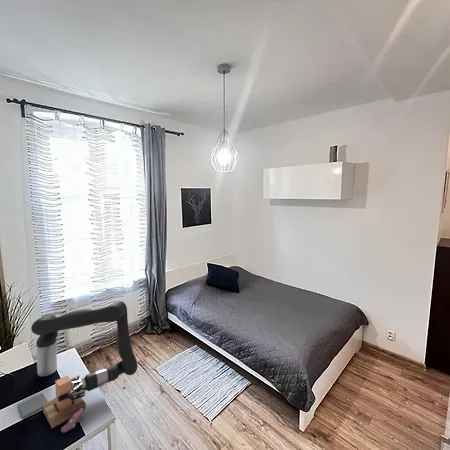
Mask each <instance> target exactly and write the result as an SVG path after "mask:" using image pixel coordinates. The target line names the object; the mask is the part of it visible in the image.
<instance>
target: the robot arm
mask: <svg viewBox="0 0 450 450" xmlns="http://www.w3.org/2000/svg"><path fill="white" fill-rule="evenodd" d="M114 322H116V327H117V331H116V346H117V350H118V354H119V355H118V356H119V357H120V358H121V360H120V361H118V362H117V363H115V364H113V365H111V366H108V367H105V368H101V369H97V370H96V371H93V372H90V373H88V374H86V375H84V377H83V378H80V375H76V376H75V377H72V378H70V380H71V390H72V391H70V392H69V393H66V394H63V395H61V396H59V397H58V401H62V400H65V399H67V398H68V399H70V400H75V399H78V398H85V396H86V391H87V392H90V391H93V390H96V389H97V388H99V387H102V386H104V385H106V384H108V383H111V382H113V381H115V380H117V379H118V378H119V376H122V374H125V375H127V376H133V375H134V374H136V372H137V370H138V361H137V358H136V355H135V353H134V350H133V345H132V342H131V337H130V331H129V321H128V307H127V304H126V303H125V302H124V301H121V300H118V301H117V300H116V301H115V302H113V303H111V304H110V305H108V306H105V307H102V308H97V309H91V308H83V309H76V310H73V311H69V312H66V313H65V314H61V315H60V316H56V315H55V314H54V313H46V314H44V315H43V316H41V317H39V318H38V319H36V320H34V322H33V323H32V325H31V328H30V329H31V331H32V333H33V334H34V335H36V336H38V338H37V339H36V343H35V345H36V368H37V371H36V372H37V376H38V377H48V376H51V375H52V374H54V373H55V372H56V371H57V370H58V358H57V356H58V355H57V338H58V335H59V332H58V331H64V330H71V329H76V328H82V327H86V326H91V325H96V324H102V323H114ZM76 395H77V396H76ZM73 396H76V397H73Z"/></svg>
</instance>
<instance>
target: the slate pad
mask: <svg viewBox="0 0 450 450" xmlns="http://www.w3.org/2000/svg"><path fill="white" fill-rule="evenodd" d="M48 401H49V400H47V398H46V396H45V394H44V393H43V392H41V393H39V394H37V395H35V396H33V397H30V398H29V399H26V400H24V401H22V402H20V403H18V404H17V408H18V410H19V413H20V414H21V417H22V419H26V418H27V417H29V416H31V415H33V414H35V413H37V412H39V411H42V404H44V403H46V402H48Z"/></svg>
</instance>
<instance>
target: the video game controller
mask: <svg viewBox="0 0 450 450" xmlns="http://www.w3.org/2000/svg"><path fill="white" fill-rule="evenodd" d="M86 412H87V408H86V409H84V408H81V409H80V410H78V411H77V412H76V413H75V414H74V415H73V416H72V417H71V418H70V419H68V421H67V423H66V424H64V425H63V426H62V427H61V428H60V432H61V433H67V432H68V431H71V430H73V428H75V427H76V425H77V424H78V423H79V422H81V419H82V418H83V417H84V415H85V414H86Z"/></svg>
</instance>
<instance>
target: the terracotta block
mask: <svg viewBox="0 0 450 450" xmlns="http://www.w3.org/2000/svg"><path fill="white" fill-rule="evenodd" d="M70 379H71V378H70V377H69V376H68V375H64V376H63V377H61V378H59V379H57V380H55V381H54V383H55V386H54V387H55V398H56V410H57V412H58V413H59V412H61V411H62V410H64V409H66V408H68V407H70V406H72V400H70V399H68V398H67V399H65V400H62V401H58V397H59V396H61V395H63V394H66V393H69V392H70V391H71V382H72V381H71V380H70Z"/></svg>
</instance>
